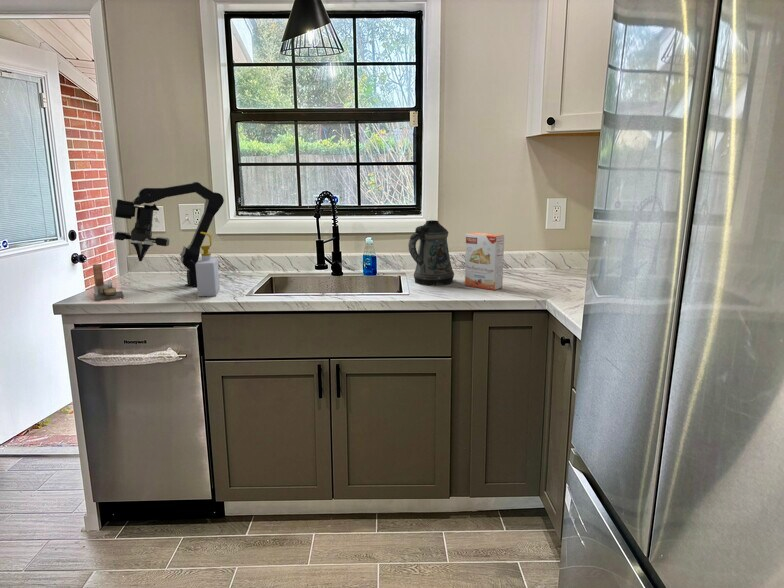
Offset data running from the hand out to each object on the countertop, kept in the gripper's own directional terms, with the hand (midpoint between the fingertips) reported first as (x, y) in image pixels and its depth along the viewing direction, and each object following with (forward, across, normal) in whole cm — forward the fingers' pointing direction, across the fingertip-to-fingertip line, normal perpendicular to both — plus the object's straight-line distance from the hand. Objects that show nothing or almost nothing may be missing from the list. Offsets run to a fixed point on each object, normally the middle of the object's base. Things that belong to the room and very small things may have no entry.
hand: (140, 261), depth 221 cm
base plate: (+14, -7, -9) cm, 18 cm away
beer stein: (-8, +114, -7) cm, 115 cm away
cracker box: (-10, +132, -20) cm, 133 cm away
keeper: (+13, -9, -9) cm, 18 cm away
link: (+13, -9, -8) cm, 17 cm away
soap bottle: (+8, +28, -10) cm, 31 cm away
